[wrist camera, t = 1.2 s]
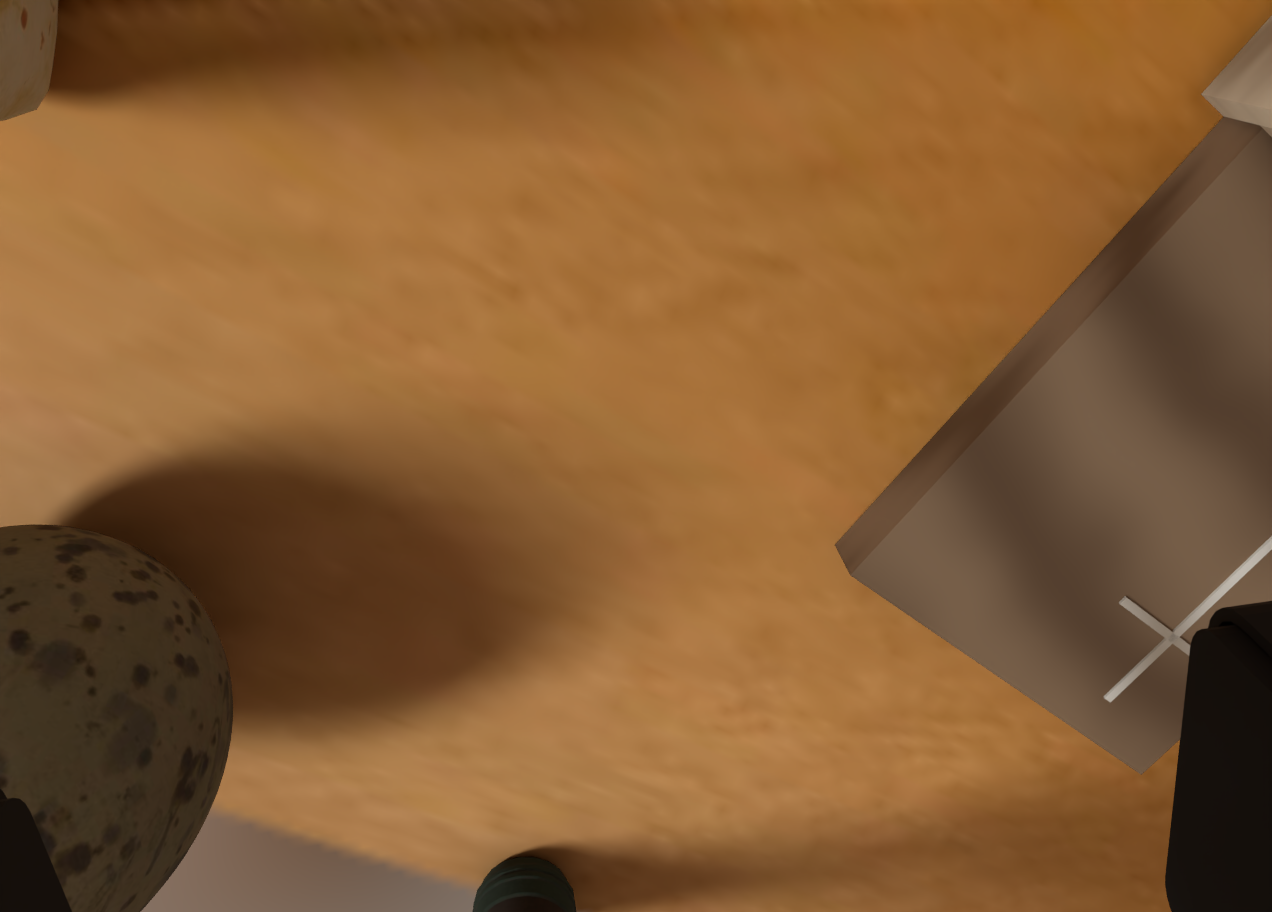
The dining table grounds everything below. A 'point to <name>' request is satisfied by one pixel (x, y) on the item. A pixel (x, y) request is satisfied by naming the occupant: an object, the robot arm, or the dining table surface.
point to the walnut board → (1107, 468)
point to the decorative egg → (108, 710)
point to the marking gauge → (1247, 82)
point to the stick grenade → (525, 888)
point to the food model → (26, 54)
